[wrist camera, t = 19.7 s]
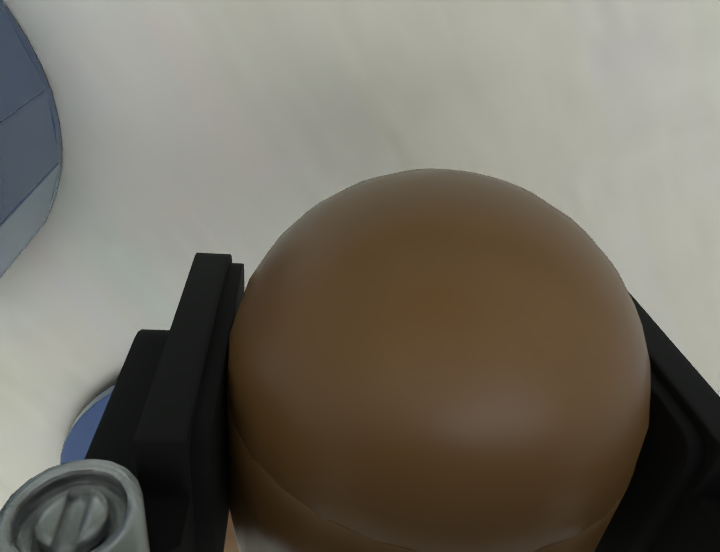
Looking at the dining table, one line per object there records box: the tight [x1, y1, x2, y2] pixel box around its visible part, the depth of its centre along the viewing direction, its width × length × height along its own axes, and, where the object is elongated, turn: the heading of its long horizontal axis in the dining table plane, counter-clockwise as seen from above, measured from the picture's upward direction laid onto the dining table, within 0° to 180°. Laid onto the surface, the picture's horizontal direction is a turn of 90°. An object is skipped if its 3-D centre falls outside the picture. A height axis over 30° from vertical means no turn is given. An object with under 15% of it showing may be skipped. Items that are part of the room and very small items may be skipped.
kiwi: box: [225, 169, 651, 552], centre depth 8 cm, size 8×5×5 cm
